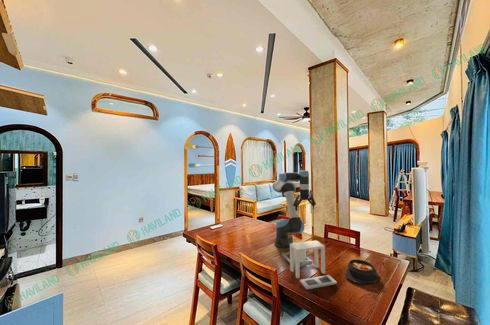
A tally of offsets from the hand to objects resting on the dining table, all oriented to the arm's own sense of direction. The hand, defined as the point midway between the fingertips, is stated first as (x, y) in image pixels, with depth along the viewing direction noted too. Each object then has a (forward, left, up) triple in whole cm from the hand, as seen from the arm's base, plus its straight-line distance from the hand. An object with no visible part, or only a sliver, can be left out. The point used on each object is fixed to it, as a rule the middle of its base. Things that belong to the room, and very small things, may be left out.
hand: (304, 214), depth 165 cm
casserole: (+38, +20, -35) cm, 55 cm away
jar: (+11, -12, -35) cm, 39 cm away
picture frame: (+6, -12, -34) cm, 36 cm away
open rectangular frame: (+29, -12, -35) cm, 47 cm away
